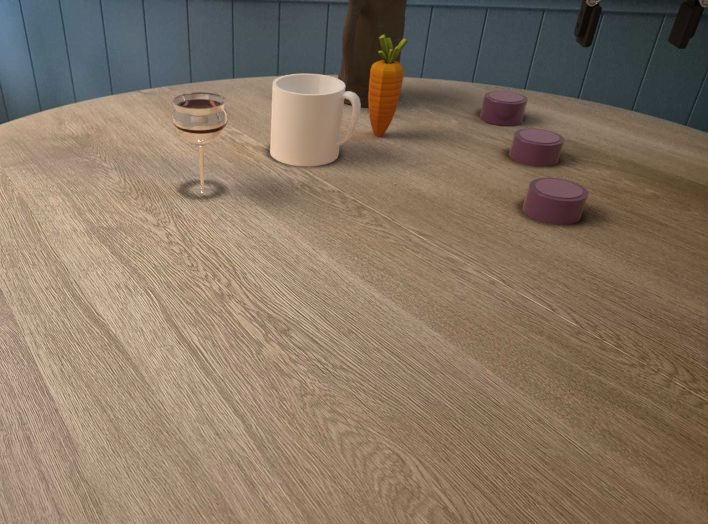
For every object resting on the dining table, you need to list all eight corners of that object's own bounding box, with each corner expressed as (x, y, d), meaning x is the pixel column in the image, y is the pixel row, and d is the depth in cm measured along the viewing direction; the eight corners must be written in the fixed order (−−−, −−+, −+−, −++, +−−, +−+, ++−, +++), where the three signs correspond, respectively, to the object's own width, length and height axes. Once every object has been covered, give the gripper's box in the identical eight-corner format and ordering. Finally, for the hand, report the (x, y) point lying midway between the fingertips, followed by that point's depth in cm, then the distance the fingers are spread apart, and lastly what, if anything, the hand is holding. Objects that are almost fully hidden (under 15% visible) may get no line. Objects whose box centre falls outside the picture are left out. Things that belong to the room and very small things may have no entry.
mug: (259, 162, 95) (260, 89, 88) (284, 139, 102) (288, 70, 96) (342, 178, 91) (350, 102, 84) (363, 153, 98) (372, 81, 92)
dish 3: (570, 205, 85) (579, 178, 82) (586, 230, 79) (596, 201, 77) (515, 202, 85) (523, 175, 83) (528, 227, 80) (536, 198, 77)
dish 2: (550, 153, 98) (557, 128, 96) (562, 171, 93) (570, 145, 91) (503, 151, 99) (510, 126, 97) (513, 168, 94) (520, 143, 91)
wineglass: (209, 178, 90) (207, 88, 83) (238, 196, 86) (238, 102, 79) (167, 190, 87) (160, 98, 80) (195, 209, 83) (191, 113, 75)
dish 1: (517, 113, 113) (522, 90, 110) (526, 127, 107) (532, 103, 105) (476, 111, 113) (481, 89, 111) (483, 125, 108) (488, 102, 106)
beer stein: (347, 84, 125) (357, -36, 111) (403, 92, 121) (420, -31, 108) (318, 114, 114) (325, -14, 101) (378, 123, 111) (393, -8, 97)
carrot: (397, 136, 104) (413, 32, 94) (389, 146, 100) (405, 40, 91) (366, 131, 105) (379, 29, 96) (357, 141, 102) (370, 36, 92)
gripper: (773, -156, 63) (698, 37, 73) (584, -154, 64) (538, 35, 75) (819, -155, 57) (730, 55, 67) (610, -153, 58) (555, 53, 69)
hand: (629, 45), depth 71 cm, fingers open, 9 cm apart
